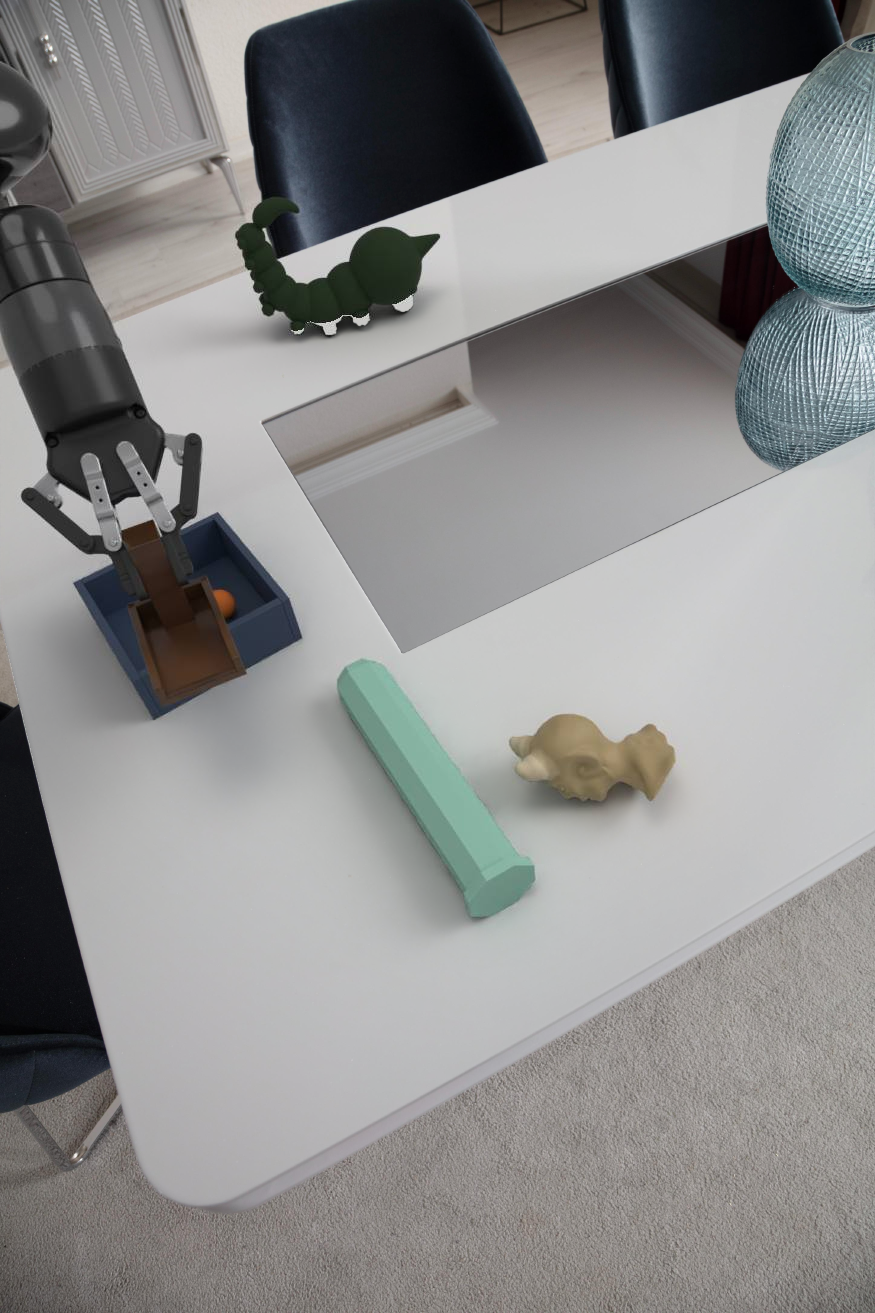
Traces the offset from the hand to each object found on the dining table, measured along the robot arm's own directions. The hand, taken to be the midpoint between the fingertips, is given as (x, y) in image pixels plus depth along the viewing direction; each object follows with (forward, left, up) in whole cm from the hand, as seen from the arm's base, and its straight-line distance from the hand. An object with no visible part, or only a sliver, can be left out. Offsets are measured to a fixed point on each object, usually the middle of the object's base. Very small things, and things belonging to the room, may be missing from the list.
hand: (164, 590), depth 67 cm
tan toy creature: (+22, -22, -19) cm, 37 cm away
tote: (+3, +14, -19) cm, 24 cm away
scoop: (0, -1, -5) cm, 5 cm away
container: (+11, -15, -19) cm, 26 cm away
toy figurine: (+44, +53, -19) cm, 71 cm away
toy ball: (+6, +14, -17) cm, 22 cm away
